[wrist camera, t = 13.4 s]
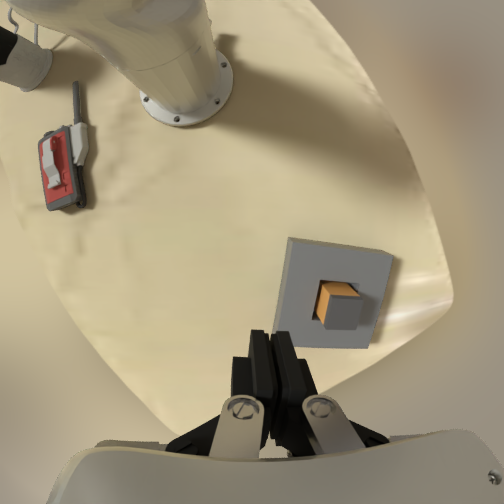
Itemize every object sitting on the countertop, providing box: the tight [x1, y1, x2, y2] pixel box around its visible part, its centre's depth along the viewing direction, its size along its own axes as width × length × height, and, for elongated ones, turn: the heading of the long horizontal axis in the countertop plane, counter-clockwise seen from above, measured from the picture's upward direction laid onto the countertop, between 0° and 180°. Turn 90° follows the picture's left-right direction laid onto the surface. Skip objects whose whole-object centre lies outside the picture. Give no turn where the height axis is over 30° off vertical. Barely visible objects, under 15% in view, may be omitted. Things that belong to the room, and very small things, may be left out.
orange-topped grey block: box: [314, 280, 364, 330], centre depth 34 cm, size 4×4×7 cm
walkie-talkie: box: [38, 81, 89, 211], centre depth 31 cm, size 9×4×20 cm
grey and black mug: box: [0, 7, 53, 92], centre depth 21 cm, size 9×14×15 cm, turn 161°
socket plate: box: [272, 237, 393, 349], centre depth 36 cm, size 14×14×4 cm
